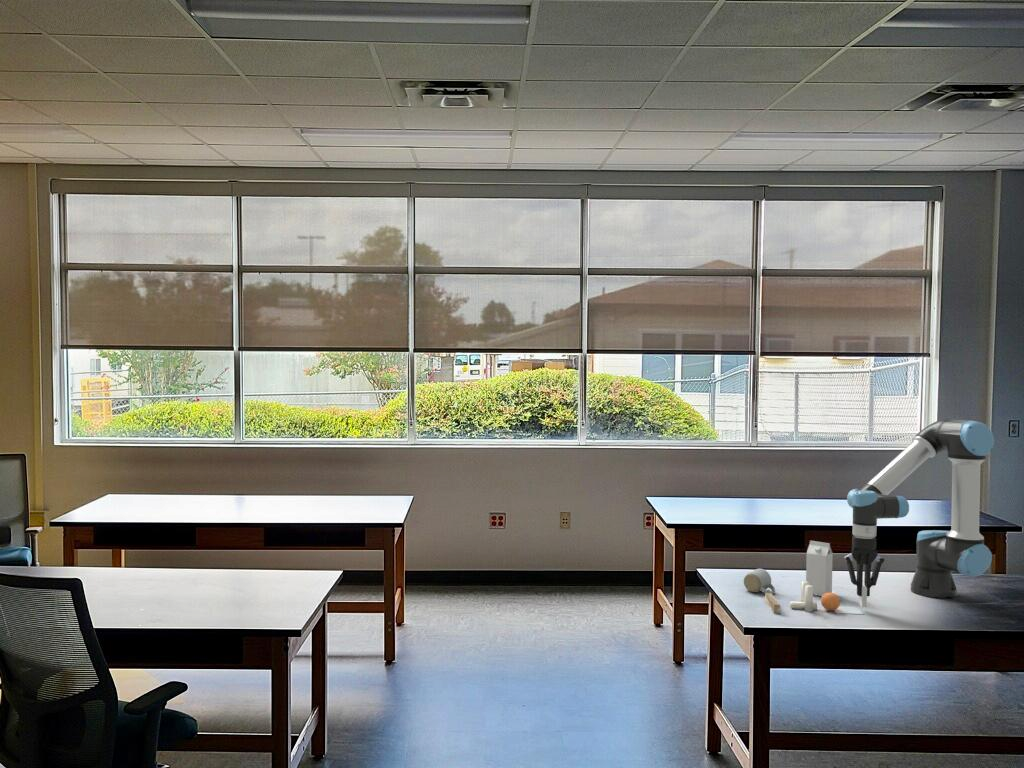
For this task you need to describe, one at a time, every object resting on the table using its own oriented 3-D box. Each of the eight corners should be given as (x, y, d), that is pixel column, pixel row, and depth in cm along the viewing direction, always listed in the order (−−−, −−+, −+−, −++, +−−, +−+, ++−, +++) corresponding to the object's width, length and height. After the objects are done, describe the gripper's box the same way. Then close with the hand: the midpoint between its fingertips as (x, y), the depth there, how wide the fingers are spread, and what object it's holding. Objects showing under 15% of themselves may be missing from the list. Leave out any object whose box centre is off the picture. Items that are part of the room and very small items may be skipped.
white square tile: (855, 607, 273) (856, 606, 273) (863, 614, 265) (863, 613, 265) (829, 606, 274) (829, 605, 274) (836, 613, 266) (836, 612, 266)
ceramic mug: (741, 590, 293) (742, 570, 292) (752, 586, 299) (753, 566, 298) (768, 597, 285) (769, 576, 285) (779, 592, 291) (779, 572, 291)
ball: (815, 602, 273) (831, 609, 273) (821, 609, 267) (837, 616, 267) (823, 587, 272) (839, 593, 272) (829, 594, 266) (845, 600, 266)
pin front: (815, 601, 272) (789, 600, 273) (817, 603, 270) (791, 602, 270) (815, 608, 272) (789, 607, 273) (817, 610, 270) (791, 609, 271)
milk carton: (812, 589, 295) (813, 539, 295) (831, 593, 291) (832, 541, 290) (805, 593, 290) (806, 542, 289) (825, 597, 285) (826, 545, 285)
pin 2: (811, 610, 270) (811, 585, 270) (813, 612, 267) (813, 587, 267) (804, 609, 270) (804, 585, 270) (806, 611, 268) (806, 586, 267)
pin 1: (807, 605, 275) (807, 581, 275) (809, 607, 272) (809, 583, 272) (800, 605, 275) (800, 581, 275) (802, 607, 273) (802, 582, 272)
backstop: (770, 601, 279) (770, 593, 279) (780, 613, 265) (780, 604, 265) (765, 601, 279) (765, 592, 279) (774, 613, 265) (774, 604, 265)
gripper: (848, 538, 266) (846, 608, 266) (888, 539, 264) (887, 609, 265) (841, 533, 273) (839, 601, 274) (880, 534, 272) (878, 603, 272)
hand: (863, 605), depth 269 cm, fingers closed
